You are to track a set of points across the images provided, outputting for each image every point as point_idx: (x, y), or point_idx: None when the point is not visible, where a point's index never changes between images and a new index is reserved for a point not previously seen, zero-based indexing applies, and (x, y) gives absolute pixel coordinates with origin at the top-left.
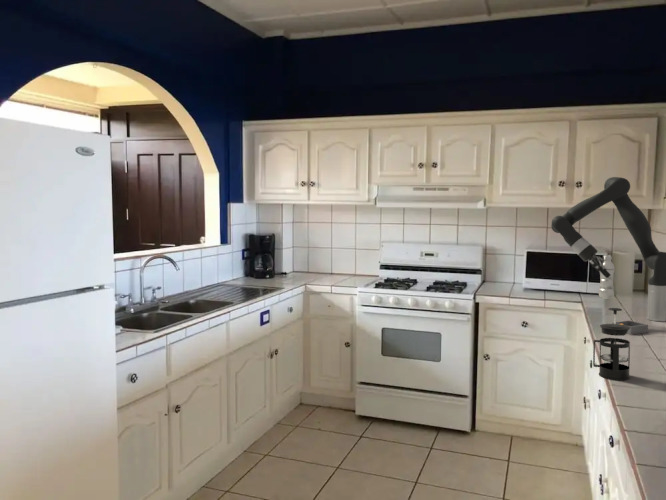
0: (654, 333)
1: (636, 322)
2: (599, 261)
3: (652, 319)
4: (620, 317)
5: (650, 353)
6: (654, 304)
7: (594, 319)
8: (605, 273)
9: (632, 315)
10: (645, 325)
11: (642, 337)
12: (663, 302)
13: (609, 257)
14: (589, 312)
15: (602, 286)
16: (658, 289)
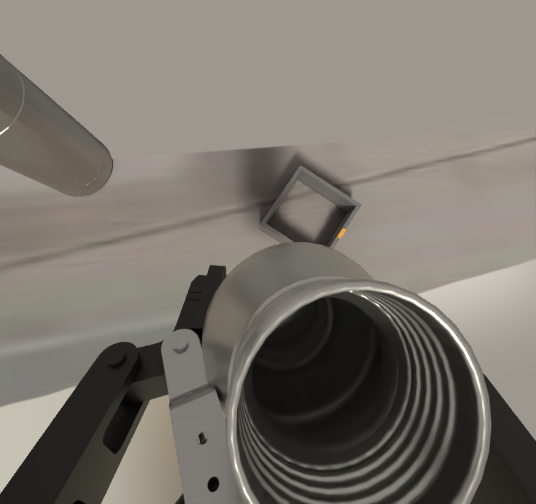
0: (299, 159)
1: (281, 198)
2: None
3: (105, 178)
4: (87, 277)
5: (530, 147)
6: (70, 146)
7: None
8: None
9: (30, 247)
10: (308, 171)
11: (368, 181)
12: (60, 110)
13: (424, 317)
14: (28, 396)
15: (313, 326)
16: (10, 85)
